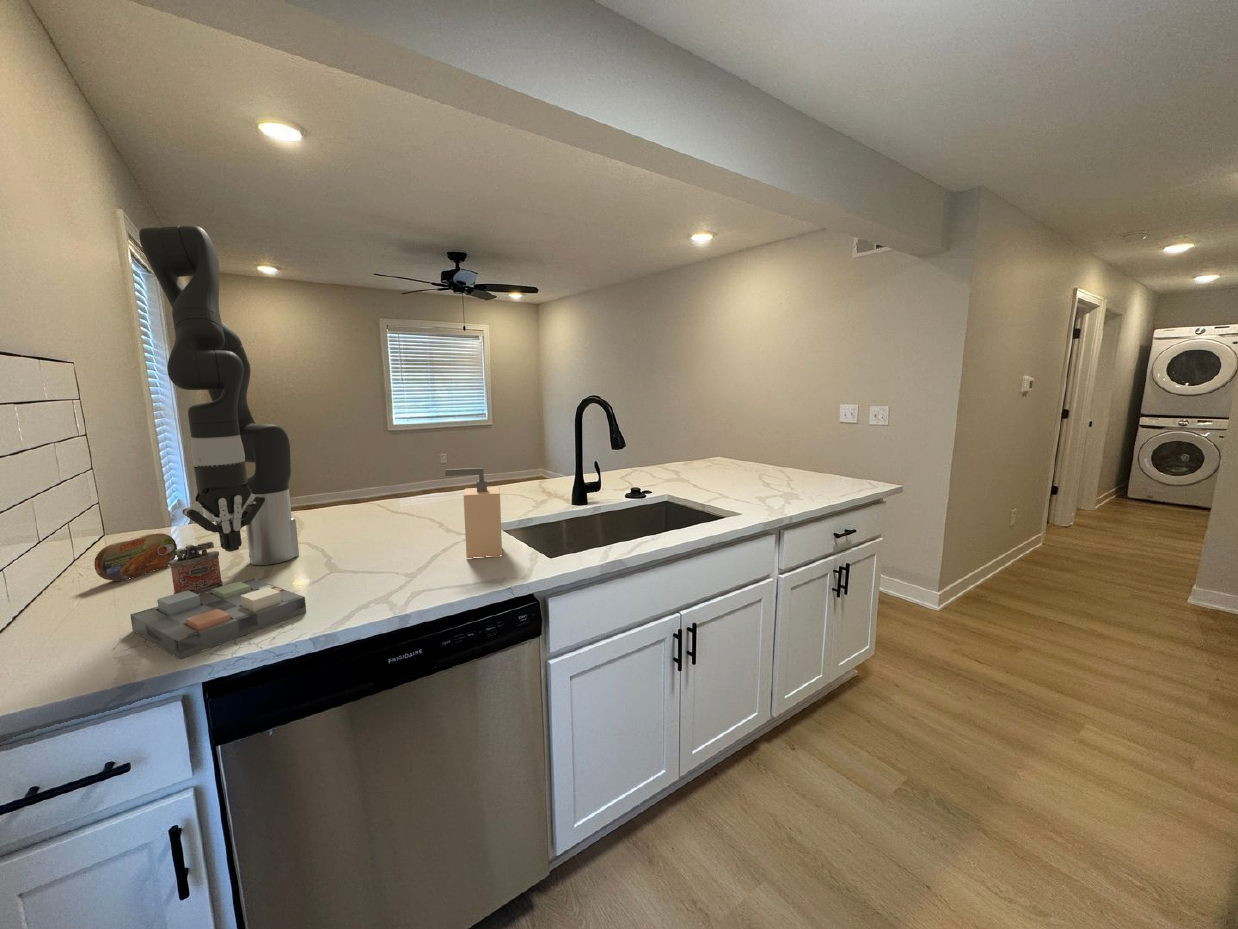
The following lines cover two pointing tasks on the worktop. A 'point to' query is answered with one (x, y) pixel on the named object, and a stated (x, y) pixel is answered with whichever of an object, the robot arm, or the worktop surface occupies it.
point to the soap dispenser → (481, 516)
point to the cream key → (260, 599)
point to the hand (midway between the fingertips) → (231, 550)
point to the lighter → (196, 569)
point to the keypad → (187, 641)
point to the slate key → (178, 602)
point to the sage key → (231, 590)
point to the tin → (135, 557)
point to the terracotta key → (207, 619)
